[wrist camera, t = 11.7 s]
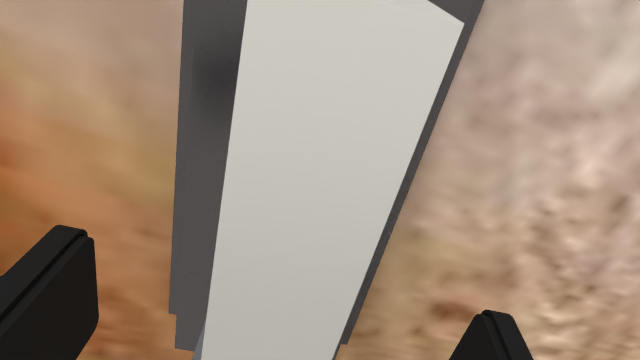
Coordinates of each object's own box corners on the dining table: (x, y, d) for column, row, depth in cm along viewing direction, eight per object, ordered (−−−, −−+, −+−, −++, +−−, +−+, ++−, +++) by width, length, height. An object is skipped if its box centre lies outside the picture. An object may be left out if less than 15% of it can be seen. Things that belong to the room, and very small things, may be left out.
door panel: (389, -24, 13) (464, 23, 6) (302, 278, 20) (282, 483, 13) (282, -53, 13) (206, -44, 5) (231, 264, 20) (166, 467, 12)
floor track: (538, -167, 12) (593, -196, 10) (346, 329, 24) (347, 377, 21) (207, -266, 11) (170, -326, 9) (175, 299, 23) (154, 344, 20)
